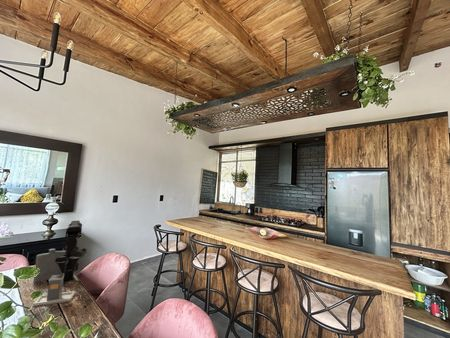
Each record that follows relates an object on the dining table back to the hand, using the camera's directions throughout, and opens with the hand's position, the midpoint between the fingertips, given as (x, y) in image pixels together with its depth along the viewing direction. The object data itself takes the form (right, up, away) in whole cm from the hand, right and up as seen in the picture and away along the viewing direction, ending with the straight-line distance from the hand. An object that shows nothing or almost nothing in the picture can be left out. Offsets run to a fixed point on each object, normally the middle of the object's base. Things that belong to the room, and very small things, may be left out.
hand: (68, 271), depth 129 cm
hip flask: (-24, -12, +13) cm, 30 cm away
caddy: (0, -10, -11) cm, 15 cm away
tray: (0, -11, -11) cm, 16 cm away
